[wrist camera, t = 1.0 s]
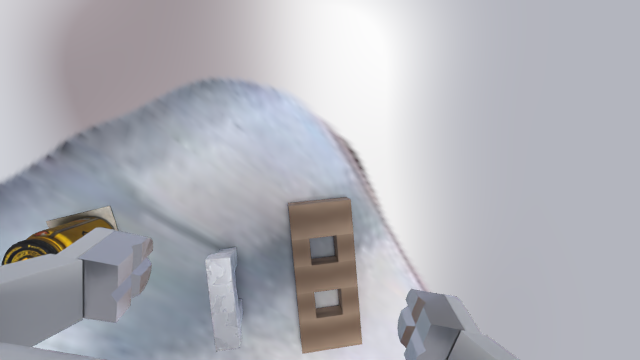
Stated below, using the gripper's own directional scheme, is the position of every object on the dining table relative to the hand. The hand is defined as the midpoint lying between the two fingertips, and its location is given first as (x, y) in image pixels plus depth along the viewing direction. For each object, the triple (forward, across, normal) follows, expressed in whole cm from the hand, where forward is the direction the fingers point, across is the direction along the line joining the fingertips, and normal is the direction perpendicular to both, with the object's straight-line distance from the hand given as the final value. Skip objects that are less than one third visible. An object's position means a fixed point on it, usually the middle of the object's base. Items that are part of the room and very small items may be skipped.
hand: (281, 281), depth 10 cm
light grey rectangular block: (+32, -6, -25) cm, 41 cm away
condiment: (+32, -27, -22) cm, 47 cm away
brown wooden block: (+34, +7, -22) cm, 41 cm away
